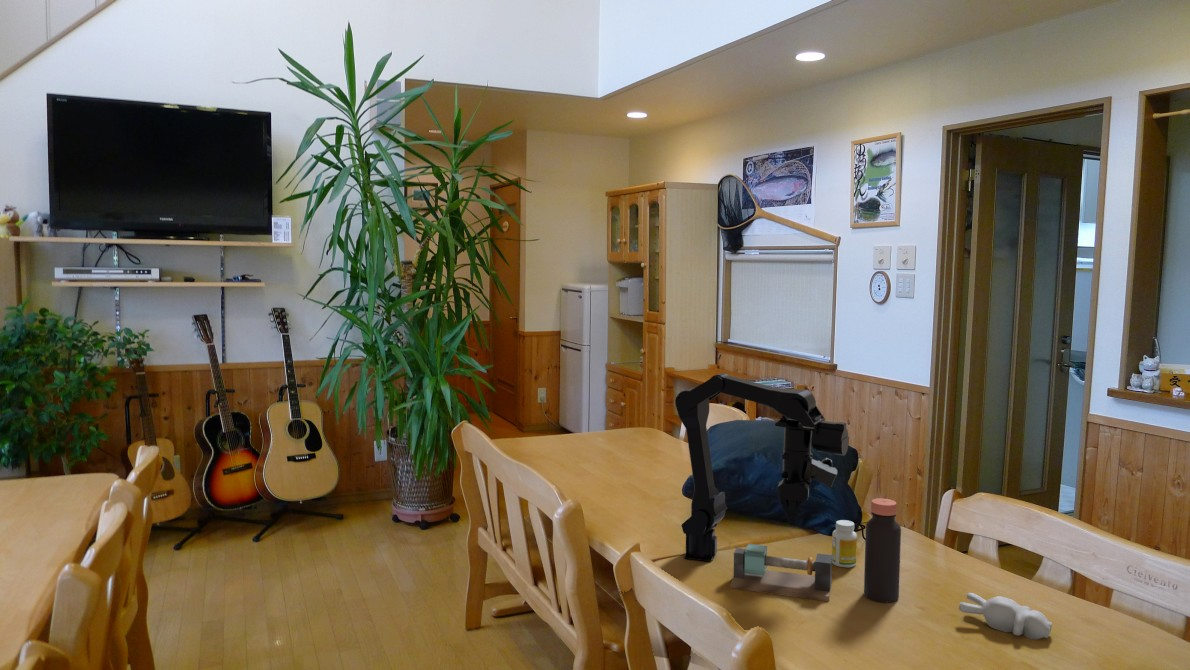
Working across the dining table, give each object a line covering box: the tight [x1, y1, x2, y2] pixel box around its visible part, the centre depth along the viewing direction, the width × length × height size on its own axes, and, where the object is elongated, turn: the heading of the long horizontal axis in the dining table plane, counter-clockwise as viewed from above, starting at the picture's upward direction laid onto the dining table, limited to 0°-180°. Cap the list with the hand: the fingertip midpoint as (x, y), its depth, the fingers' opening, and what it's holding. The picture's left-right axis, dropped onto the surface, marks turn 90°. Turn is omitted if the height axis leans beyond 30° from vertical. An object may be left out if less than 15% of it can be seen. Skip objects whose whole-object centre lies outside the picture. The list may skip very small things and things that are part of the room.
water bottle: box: [863, 497, 902, 604], centre depth 163 cm, size 7×7×20 cm
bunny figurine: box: [958, 592, 1053, 641], centre depth 150 cm, size 10×5×15 cm
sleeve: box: [745, 543, 768, 576], centre depth 172 cm, size 4×5×5 cm
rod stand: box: [730, 547, 833, 602], centre depth 170 cm, size 20×10×7 cm, turn 70°
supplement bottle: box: [831, 519, 858, 569], centre depth 182 cm, size 5×5×10 cm
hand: (794, 518), depth 174 cm, fingers open, 9 cm apart
